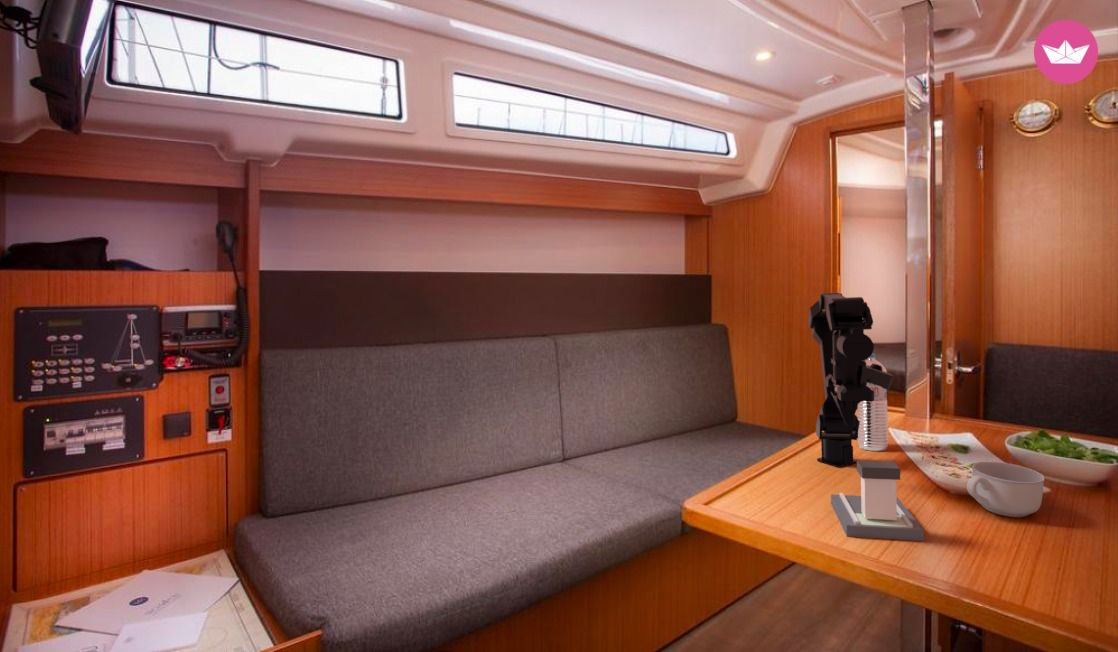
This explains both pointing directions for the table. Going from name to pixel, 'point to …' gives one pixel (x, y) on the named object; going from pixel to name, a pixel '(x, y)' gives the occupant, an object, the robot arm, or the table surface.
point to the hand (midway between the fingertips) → (848, 425)
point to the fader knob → (878, 489)
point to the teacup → (1006, 488)
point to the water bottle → (873, 417)
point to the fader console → (875, 521)
